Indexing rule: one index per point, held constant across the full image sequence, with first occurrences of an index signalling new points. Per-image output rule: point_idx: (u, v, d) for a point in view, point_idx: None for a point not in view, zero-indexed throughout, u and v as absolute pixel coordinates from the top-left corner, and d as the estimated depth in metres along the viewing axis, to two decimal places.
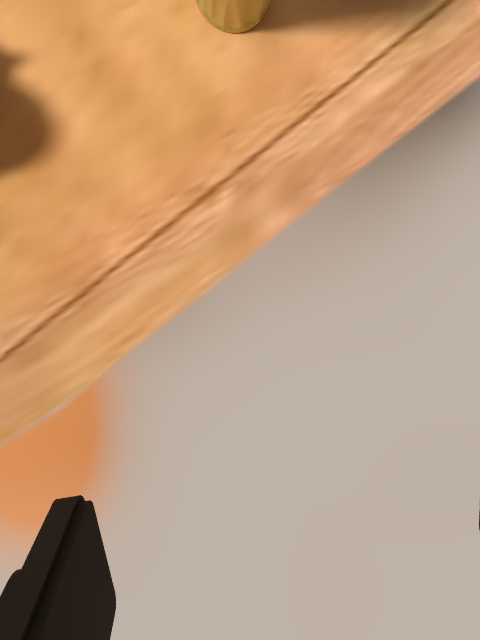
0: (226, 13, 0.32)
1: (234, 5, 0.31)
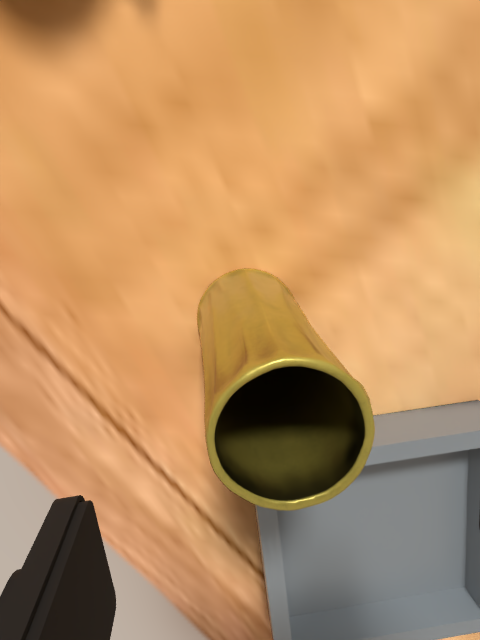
0: None
1: (200, 336, 0.22)
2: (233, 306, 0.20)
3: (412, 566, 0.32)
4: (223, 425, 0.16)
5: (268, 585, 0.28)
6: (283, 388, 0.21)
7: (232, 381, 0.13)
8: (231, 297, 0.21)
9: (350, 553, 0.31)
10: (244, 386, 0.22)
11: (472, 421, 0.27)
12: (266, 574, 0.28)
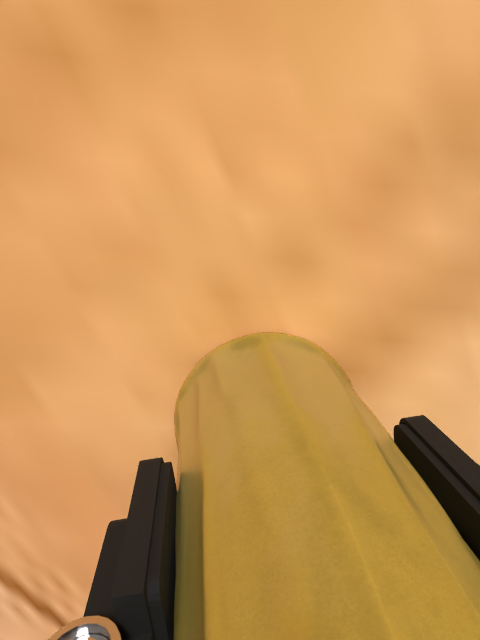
0: None
1: (176, 504, 0.10)
2: (255, 481, 0.08)
3: None
4: None
5: None
6: None
7: None
8: (245, 431, 0.09)
9: None
10: None
11: None
12: None
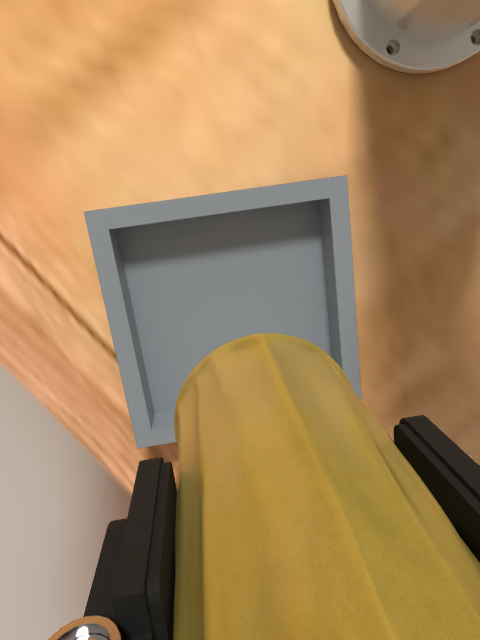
0: (180, 450, 0.12)
1: (176, 505, 0.10)
2: (254, 482, 0.08)
3: None
4: None
5: (117, 352, 0.28)
6: None
7: None
8: (245, 432, 0.09)
9: (212, 341, 0.31)
10: None
11: None
12: (113, 339, 0.28)
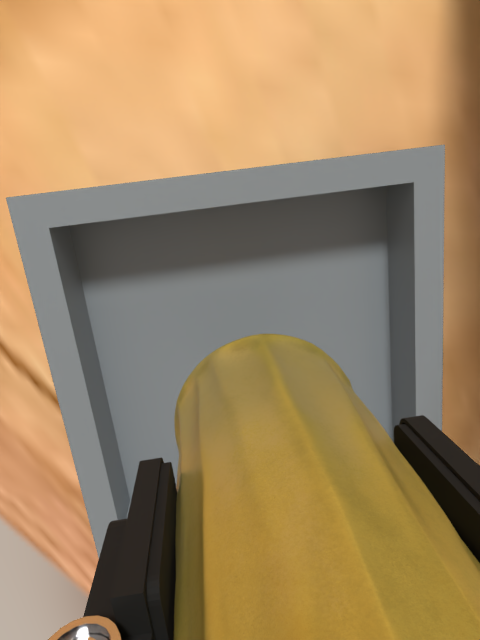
0: None
1: (176, 505, 0.10)
2: (255, 483, 0.08)
3: None
4: None
5: (67, 423, 0.18)
6: None
7: None
8: (245, 433, 0.09)
9: None
10: None
11: None
12: (60, 403, 0.17)
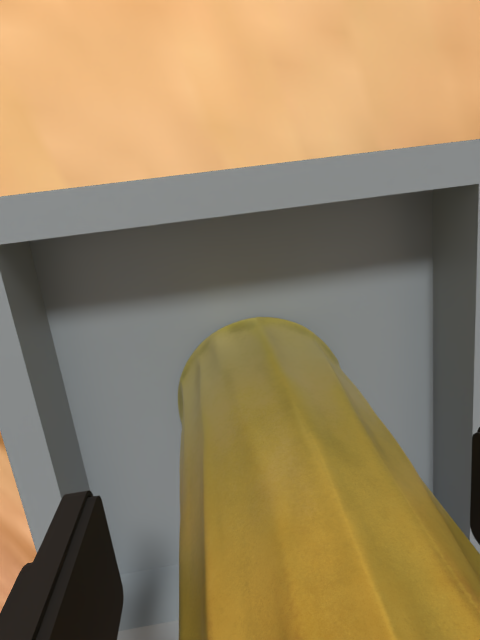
0: None
1: (181, 464, 0.11)
2: (247, 433, 0.09)
3: None
4: None
5: (24, 497, 0.14)
6: None
7: None
8: (240, 396, 0.10)
9: None
10: None
11: None
12: (15, 473, 0.13)
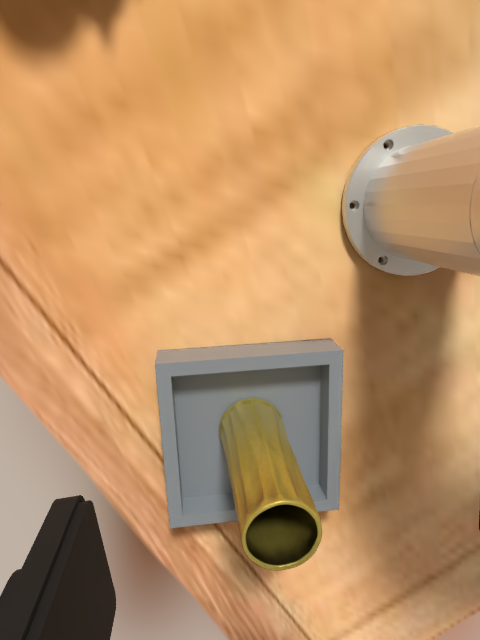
0: (225, 435, 0.38)
1: (225, 450, 0.36)
2: (249, 441, 0.34)
3: None
4: None
5: (165, 459, 0.38)
6: None
7: (256, 509, 0.27)
8: (247, 430, 0.35)
9: None
10: None
11: (318, 347, 0.38)
12: (163, 450, 0.38)
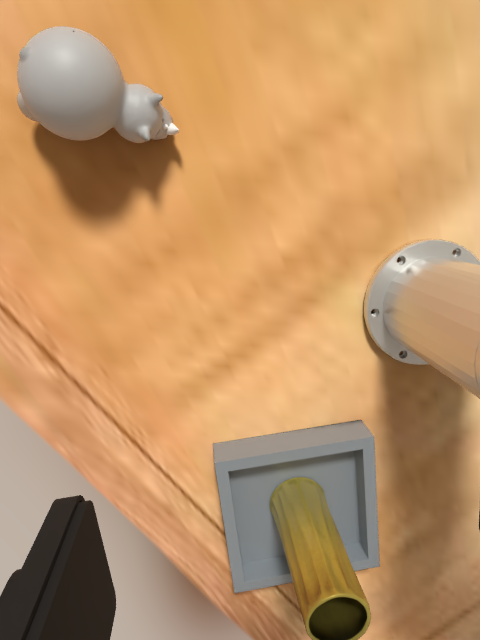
0: (277, 515, 0.44)
1: (279, 531, 0.42)
2: (301, 528, 0.40)
3: None
4: None
5: (227, 538, 0.45)
6: None
7: (316, 602, 0.33)
8: (297, 515, 0.41)
9: None
10: None
11: (351, 434, 0.44)
12: (225, 531, 0.44)
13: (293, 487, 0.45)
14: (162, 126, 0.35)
